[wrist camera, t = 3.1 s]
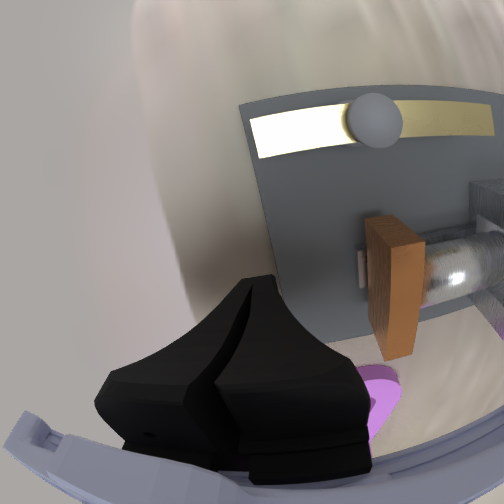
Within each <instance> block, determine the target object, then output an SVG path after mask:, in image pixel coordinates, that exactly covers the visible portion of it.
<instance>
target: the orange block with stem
mask: <svg viewBox="0 0 504 504" xmlns="http://www.w3.org/2000/svg"><path fill="white" fill-rule="evenodd" d="M364 220H365V232H366V246H367V265H368V319H369V322H370V324H371V327H372V329H373V332H374V334H375V337H376V340H377V342H378V345H379V348H380V350H381V353H382V356H383V358H384V361H389V360H393V359H396V358H400V357H404V356H407V355H411V354H412V352H413V347H414V342H415V336H416V331H417V325H418V318H419V311H420V308H424V307H427V306H431V305H435V304H438V303H441V302H445V301H448V300H451V299H455V298H458V297H461V296H464V295H467V294H470V293H473V292H476V291H479V290H482V289H485V288H487V287H490V286H493V285H496V284H498V283H501V282H504V233H502V232H501V231H499V230H493V231H489V232H484V233H480V234H476V235H471V236H467V237H462V238H458V239H453V240H449V241H444V242H440V243H435V244H430V245H425V241H424V240H423V239H422V238H421V237H420V236H418V235H417V234H416V233H415V232H414V231H413V230H411V229H410V228H409V227H408V226H406V225H405V224H404V223H403V222H402V221H400V220H399V219H398V218H397V217H395V216H394V215H393V214H390V215H384V216H378V217H372V218H366V219H364Z"/></svg>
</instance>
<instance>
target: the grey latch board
mask: <svg viewBox="0 0 504 504" xmlns="http://www.w3.org/2000/svg"><path fill="white" fill-rule="evenodd" d="M395 100H436V101H456V102H469V103H479V104H487V105H491V111H492V118H493V125H494V133H495V136H480V135H449V136H421V137H405V138H399V137H400V135H401V133H402V129H403V119H402V115H401V112H400V110H399V108H398V107H397V105H396V104H395V103H394V102H393V101H395ZM349 103H351V105H350V106H349V109H348V112H347V123H348V127H349V129H350V131H351V133H352V135H353V136H354V137H355V138H356V139H357V140H358V141H359V142H354V143H346V144H339V145H332V146H325V147H319V148H312V149H306V150H301V151H295V152H290V153H284V154H279V155H274V156H269V157H264V158H259V155H258V151H257V146H256V142H255V138H254V134H253V130H252V126H251V122H250V120H251V119H255V118H260V117H264V116H269V115H274V114H279V113H285V112H290V111H296V110H302V109H308V108H315V107H323V106H330V105H339V104H349ZM239 109H240V113H241V117H242V121H243V125H244V129H245V133H246V137H247V141H248V145H249V149H250V153H251V157H252V161H253V166H254V170H255V174H256V178H257V182H258V187H259V191H260V195H261V200H262V204H263V208H264V213H265V217H266V222H267V226H268V230H269V235H270V239H271V244H272V248H273V253H274V257H275V262H276V267H277V271H278V276H279V281H280V285H281V290H282V295H283V300H284V303H285V304H286V306H287V307H288V309H289V310H290V312H291V313H292V314H293V315H294V317H295V318H296V319H297V320H298V321H299V322H300V324H301V325H302V326H303V327H304V328H305V329H306V330H307V331H309V332H310V333H311V334H312V335H313V336H315V337H316V338H317V339H318V340H320V341H321V342H322V343H329V342H335V341H340V340H345V339H350V338H355V337H360V336H365V335H369V334H374V332H373V329H372V327H371V324H370V322H369V319H368V287H364V288H359V286H358V284H357V282H356V273H355V258H354V245H356V244H362V243H366V232H365V220H364V219H366V218H372V217H378V216H384V215H390V214H393V215H394V216H395V217H397V218H398V219H399V220H400V221H402V222H403V223H404V224H405V225H406V226H408V227H409V228H410V229H411V230H413V231H414V232H415V233H420V232H425V231H431V230H436V229H441V228H446V227H451V226H456V225H461V224H466V223H469V182H470V181H480V180H490V179H501V178H504V95H502V94H497V93H491V92H485V91H479V90H472V89H464V88H454V87H443V86H426V85H375V86H357V87H344V88H334V89H325V90H317V91H310V92H303V93H297V94H290V95H285V96H279V97H274V98H269V99H264V100H259V101H255V102H250V103H246V104H242V105H239ZM472 305H474V304H473V302H472V301H471V300H470V299H469V298H468V297H467V296H466V295H464V296H461V297H458V298H455V299H451V300H448V301H445V302H441V303H438V304H435V305H431V306H427V307H424V308H420V311H419V318H418V322H421V321H425V320H428V319H432V318H435V317H438V316H442V315H445V314H448V313H451V312H454V311H457V310H460V309H463V308H466V307H469V306H472Z"/></svg>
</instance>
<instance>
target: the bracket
mask: <svg viewBox="0 0 504 504" xmlns="http://www.w3.org/2000/svg"><path fill="white" fill-rule="evenodd" d="M356 369H357V370H358V372H359V374H360V375H361V377H362V379H363V381H364V383H365V385H366V387H367V390H368V392H369V395H370V400H371V408H370V414H369V419H368V424H367V426H368V431H369V438H370V439H369V447H370V442H371V439H372V438H373V437H374V436H375V434H376V433H377V432H378V430H379V429H380V427H381V426H382V425H383V423H384V422H385V421H386V419H387V418H388V416H389V415H390V413H391V412H392V410H393V409H394V407H395V406H396V404H397V403H398V401H399V399H400V397H401V394H402V389H401V386H400V384H399V381H398V378H397V375H396V373H395V372H394V371H393V370H392V369H391V368H389V367H386V366H381V365H368V366H362V367H358V368H356ZM370 453H371V448H370ZM371 458H372V454H371Z"/></svg>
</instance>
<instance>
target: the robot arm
mask: <svg viewBox="0 0 504 504" xmlns="http://www.w3.org/2000/svg"><path fill="white" fill-rule="evenodd" d="M94 402H95V407H96V410H97V412H98V414H99V415H100V416H101V417H102V419H103V420H104V421H105V422H106V423H107V424H108V425H109V426H110V427H111V428H112V429H113V430H114V431H115V432H116V433H117V434H118V435H119V436H120V437H122V438H123V439H124V440H125V443H124V445H123V447H122V449H118V448H114V447H111V446H108V445H104V444H101V443H98V442H94V441H91V440H88V439H85V438H82V437H80V436H75V435H64V434H61V433H59V432H56V431H54V430H52V429H51V428H50V427H49V426H48V425H47V424H46V423H45V422H44V421H43V420H42V419H41V418H39V417H38V416H36V415H34V414H32V413H30V412H28V411H24V413H23V414H22V416H21V418H20V419H19V421H18V422H17V424H16V425H15V427H14V429H13V430H12V432H11V434H10V435H9V437H8V439H7V440H6V442H5V444H4V446H3V448H4V449H5V450H6V451H7V452H8V453H9V454H10V455H12V456H13V457H14V458H15V459H16V460H18V461H19V462H20V463H21V464H23V465H24V466H25V467H27V468H28V469H29V470H31V471H32V472H33V473H35V474H36V475H38V476H39V477H40V478H42V479H43V480H45V481H46V482H48V483H49V484H51V485H53V486H54V487H56V488H57V489H59V490H61V491H62V492H64V493H66V494H68V495H69V496H71V497H73V498H75V499H77V500H79V501H80V502H82V504H468V503H470V502H472V501H473V500H475V499H477V498H479V497H480V496H482V495H484V494H486V493H487V492H489V491H491V490H492V489H494V488H496V487H497V486H499V485H500V484H502V483H503V482H504V405H503V406H501V407H500V408H498V409H496V410H495V411H493V412H491V413H489V414H487V415H486V416H484V417H482V418H480V419H478V420H476V421H474V422H472V423H470V424H468V425H466V426H464V427H462V428H459V429H457V430H455V431H453V432H450V433H448V434H446V435H443V436H441V437H438V438H436V439H433V440H431V441H428V442H425V443H422V444H420V445H417V446H414V447H411V448H408V449H404V450H401V451H398V452H394V453H391V454H387V455H383V456H379V457H375V458H371V453H370V447H369V439H370V438H369V431H368V426H367V424H368V419H369V414H370V408H371V400H370V395H369V392H368V390H367V387H366V385H365V383H364V381H363V379H362V377H361V375H360V374H359V372H358V370H357V369H356V367H355V366H354V364H353V363H352V361H351V360H350V359H349V358H347V357H345V356H344V355H342V354H340V353H338V352H336V351H334V350H332V349H331V348H329V347H328V346H326V345H325V344H324V343H322V342H321V341H320V340H318V339H317V338H316V337H315V336H313V335H312V334H311V333H310V332H309V331H307V330H306V329H305V328H304V327H303V326H302V325H301V324H300V322H299V321H298V320H297V319H296V318H295V317H294V315H293V314H292V313H291V312H290V310H289V309H288V307H287V306H286V304H285V303H284V301H283V299H282V298H281V296H280V294H279V292H278V287H277V283H276V278H275V276H274V275H272V274H270V275H264V276H258V277H251V278H245V279H241V280H240V281H239V282H238V284H237V285H236V286H235V287H234V288H233V289H232V290H231V291H230V293H229V294H228V295H227V296H226V297H225V298H224V299H223V300H222V301H221V303H220V304H219V305H218V306H217V307H216V308H215V309H214V310H213V311H212V312H211V313H210V314H209V315H207V316H206V317H205V318H204V319H203V320H202V321H201V322H200V323H199V324H198V325H196V326H195V327H194V328H193V329H191V330H190V331H189V332H188V333H186V334H185V335H183V336H182V337H180V338H179V339H177V340H176V341H174V342H173V343H171V344H169V345H168V346H166V347H165V348H163V349H161V350H159V351H158V352H156V353H154V354H152V355H150V356H148V357H146V358H144V359H142V360H139V361H137V362H135V363H132V364H130V365H127V366H125V367H122V368H119V369H116V370H113V371H111V372H110V374H109V375H108V377H107V379H106V381H105V382H104V384H103V386H102V388H101V389H100V391H99V393H98V395H97V396H96V398H95V400H94Z"/></svg>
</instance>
